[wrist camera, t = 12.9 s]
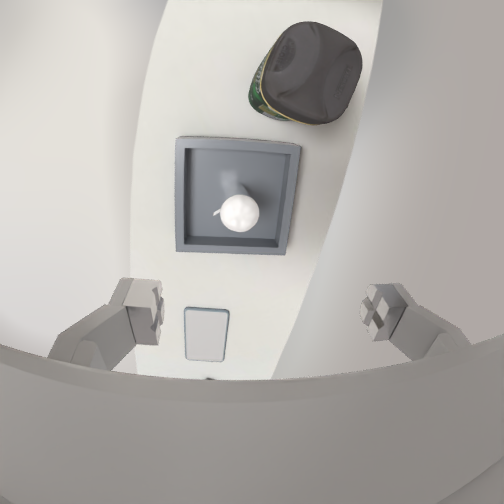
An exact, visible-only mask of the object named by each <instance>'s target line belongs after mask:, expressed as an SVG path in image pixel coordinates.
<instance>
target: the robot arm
mask: <svg viewBox="0 0 504 504" xmlns="http://www.w3.org/2000/svg"><path fill="white" fill-rule="evenodd" d="M161 293H162V284H161V281H160V280H149V279H137V278H135V279H134V278H121V279H120V281H119V283H118V285H117V287H116V289H115V291H114V293H113V295H112V297H111V300H110V302H109V304H108V305H103V306H101V307H100V308H98V309H97V310H95V311H94V312H92V313H91V314H89V315H88V316H86V317H84V318H83V319H82V320H80V321H78V322H77V323H75V324H74V325H72V326H71V327H70V328H68V329H67V330H65V331H63V332H62V333H60V334H59V335H58V337H57V339H56V341H55V343H54V345H53V347H52V349H51V351H50V353H49V355H48V357H47V358H46V357H42V356H38V355H34V354H31V353H27V352H24V351H20V350H17V349H14V348H10V347H8V346H4V345H2V344H0V504H504V334H502V335H499V336H497V337H494V338H491V339H488V340H485V341H483V342H480V343H477V344H473V345H471V343H470V342H469V340H468V339H467V338H466V336H465V335H464V334H463V332H462V331H461V330H460V329H459V328H458V327H456V326H454V325H453V324H451V323H450V322H448V321H446V320H445V319H443V318H441V317H439V316H438V315H436V314H434V313H433V312H431V311H429V310H427V309H426V308H424V307H422V306H418V305H417V303H416V302H415V301H414V299H413V298H412V297H411V296H410V294H409V293H408V292H407V290H406V289H405V288H404V287H403V285H402V284H400V283H391V284H371V285H369V287H368V288H367V290H366V295H367V297H366V298H365V299H364V300H363V301H362V303H361V306H360V317H361V320H362V322H363V323H364V324H366V325H367V326H368V328H367V331H368V333H369V335H370V337H371V339H372V341H382V340H389V341H390V342H391V343H393V345H395V346H396V347H397V348H398V349H399V350H400V351H402V352H403V353H404V354H405V355H406V356H407V357H409V358H410V359H411V360H412V361H411V362H406V363H402V364H397V365H392V366H387V367H381V368H375V369H370V370H363V371H356V372H349V373H341V374H334V375H325V376H314V377H303V378H290V379H270V380H200V379H181V378H168V377H156V376H146V375H138V374H129V373H122V372H115V371H111V370H112V369H113V368H114V367H115V366H116V365H117V364H118V363H119V362H120V361H121V360H122V359H123V358H124V357H125V356H126V355H127V354H128V353H129V352H130V351H131V350H132V349H133V348H134V347H135V346H136V344H143V345H158V343H159V338H160V334H161V330H160V325H161V324H163V319H164V299H163V298H162V297H161Z"/></svg>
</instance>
